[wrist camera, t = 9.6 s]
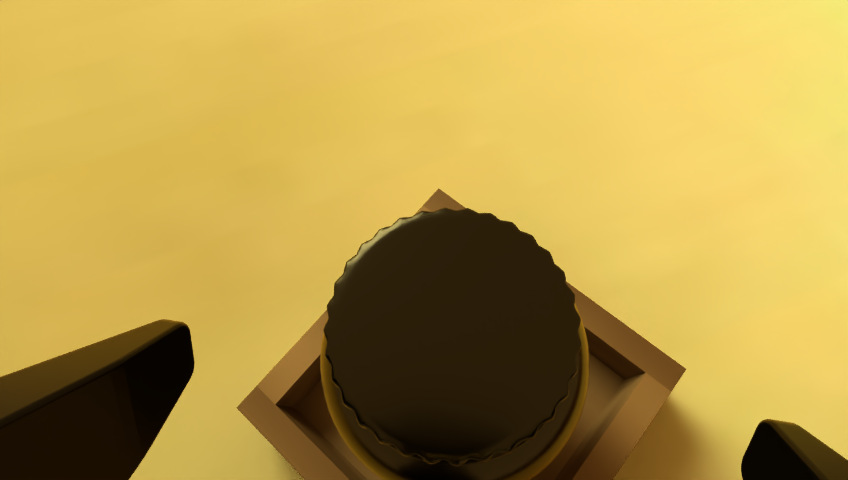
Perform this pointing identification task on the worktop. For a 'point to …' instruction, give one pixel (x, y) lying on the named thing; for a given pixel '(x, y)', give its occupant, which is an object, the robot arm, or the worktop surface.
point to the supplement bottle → (454, 351)
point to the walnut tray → (565, 476)
